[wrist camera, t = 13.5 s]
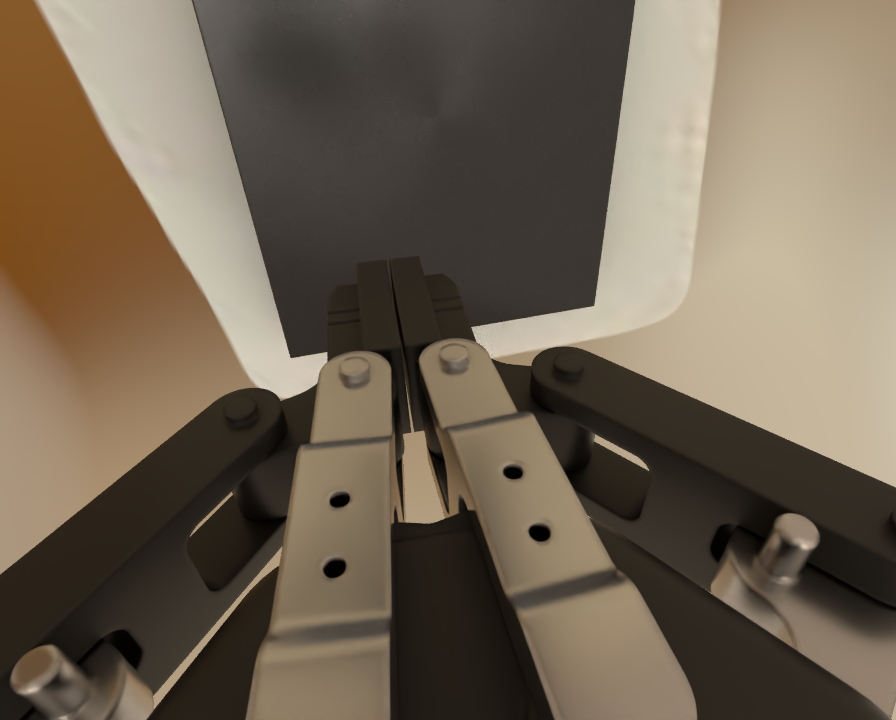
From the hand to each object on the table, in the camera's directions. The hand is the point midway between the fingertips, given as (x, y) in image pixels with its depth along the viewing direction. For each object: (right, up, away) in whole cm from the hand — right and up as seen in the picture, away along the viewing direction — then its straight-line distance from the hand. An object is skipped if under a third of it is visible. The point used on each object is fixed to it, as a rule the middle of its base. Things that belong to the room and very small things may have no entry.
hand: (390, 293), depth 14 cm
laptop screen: (+1, +11, +15) cm, 19 cm away
